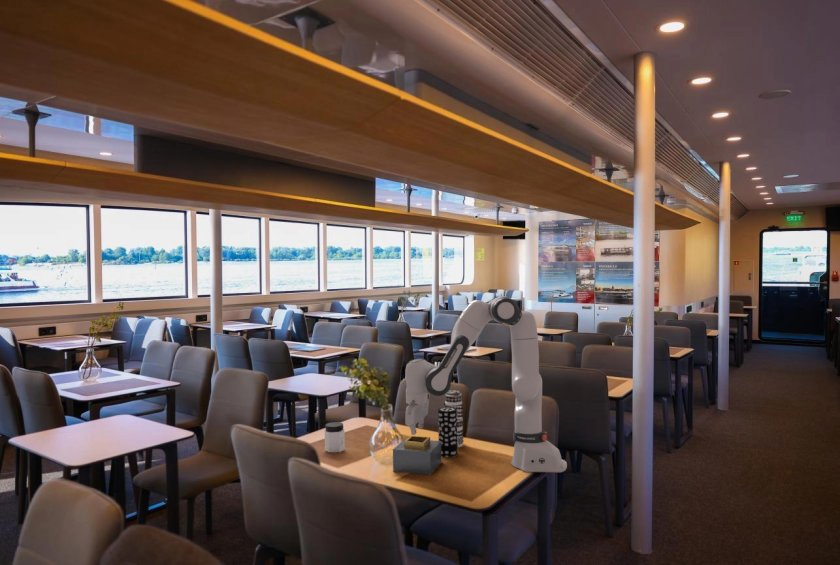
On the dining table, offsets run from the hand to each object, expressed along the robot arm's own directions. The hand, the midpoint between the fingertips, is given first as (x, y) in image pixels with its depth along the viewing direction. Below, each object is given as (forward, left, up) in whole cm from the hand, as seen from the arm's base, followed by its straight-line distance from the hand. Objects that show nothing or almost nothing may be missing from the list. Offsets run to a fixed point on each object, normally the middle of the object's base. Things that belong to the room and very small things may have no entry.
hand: (417, 431), depth 241 cm
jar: (+44, -12, -15) cm, 48 cm away
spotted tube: (-8, -19, -15) cm, 26 cm away
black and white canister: (-7, -34, -15) cm, 38 cm away
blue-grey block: (0, 0, -15) cm, 15 cm away
